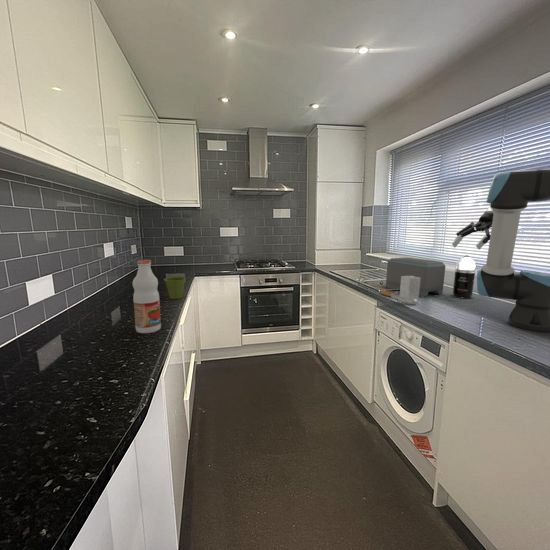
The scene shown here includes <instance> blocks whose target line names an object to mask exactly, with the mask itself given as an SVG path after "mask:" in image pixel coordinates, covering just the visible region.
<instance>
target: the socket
mask: <svg viewBox="0 0 550 550" xmlns="http://www.w3.org/2000/svg"><path fill="white" fill-rule="evenodd" d="M420 279H421V278H420V277H415V276H401V285H400V291H399V295H400V298H403V299H406V300H418V301H419V299H420V296H419V290H420Z"/></svg>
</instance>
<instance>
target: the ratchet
mask: <svg viewBox="0 0 550 550" xmlns="http://www.w3.org/2000/svg"><path fill="white" fill-rule="evenodd" d="M381 293H383V294H385V295H387V296H386V297H388V296H391V297H394V298H396V299H395V300H397V299H398V300H397V302H398V301H399V302H401V303H404V304H403V305H405V304H409V305H408V306H417V305H418V304H419V299H418V300H406V299H403V298H400V294H398V293H395V291H392V290H391V289H390V290H389V289H388V288H386V289H380V294H381ZM385 295H384V296H385ZM391 297H390V298H391ZM394 298H393V299H394ZM399 302H398V303H399ZM401 303H400V304H401ZM416 304H417V305H416Z"/></svg>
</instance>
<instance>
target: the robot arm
mask: <svg viewBox="0 0 550 550" xmlns="http://www.w3.org/2000/svg"><path fill="white" fill-rule="evenodd" d="M545 201H550V168H541V169H539V168H538V169H527V170H526V169H525V170H509V171H503V172H497V173H495V174H494V176H493V178H492V180H491V183H490V187H489V190H488V194H487V198H486V203H487V204H489V205H490V206H489V207H488V208H487V209H486V210H485V211H484V212H483V213H482V214H481V216H480V217H479V218H478V221H477V222H476V223H474V222H473V221H471V222H470V223H469V224H468V225H467V226H465V227H463V228H462V229H460V230H459V231H458V232H456V233H455V234H456V237H455V238H454V241H453V242H452V243H451V245H452V247H454V248H456V247H458V245H459V244H460V243H461V241H462V240H463V239H464V237H467V236H469V235H471V234H473V233H478V232H485V235H484V236H482V238H481V239H480V240H479V241H478V242H477V244H476V245H475V246H476V248H477V249H478V250H481V249H482V248H483V246H484V245H486V244H487V243H488V242H489V244H488V251H487V257H486V264H484V265H482V266H481V269H479V270H477V273H476V288H477V290H476V291H477V294H478V295H479V296H481V297H487V298H493V299H495V298H496V299H504V300H512V301H515V305H514V307H513V309H512V310H511V312H510V314H509V315H508V318H507V323H508V324H509V325H511V326H513V327H517V328H520V329H523V330H527V331H528V330H529V331H533V332H534V331H535V332H540V333H541V332H542V333H543V332H544V333H545V332H546V333H548V332H549V333H550V274H548V273H546V272H545V273H544V272H539V271H533V270H527V269H522V270H520V271H519V273H518V272H515V271H516V270H515V268H514V267H513V266H512V264H513V263H512V261H513V257H514V252H515V247H516V240H517V235H518V230H519V225H520V224H519V223H520V219H521V213H522V211H524V210H525V209H527V208H528V203H533V202H545ZM490 229H491V230H490Z"/></svg>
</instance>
